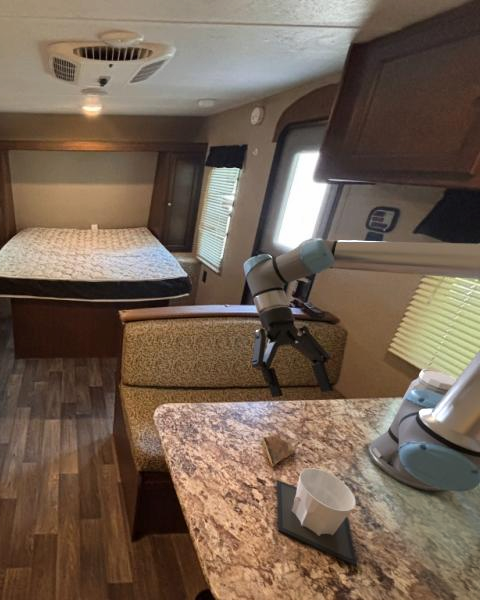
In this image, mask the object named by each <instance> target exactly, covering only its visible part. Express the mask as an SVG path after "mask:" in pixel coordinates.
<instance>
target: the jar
mask: <svg viewBox="0 0 480 600" xmlns="http://www.w3.org/2000/svg"><path fill="white" fill-rule="evenodd" d="M457 379H458V378H456V377H454V376H452V375H451V374H449V373H446V372H444V371H440V370H436V369H431V368H423V369H422V370H421V371H420V372H419V374H418V376H417V378H416V379H413V380H412V381H411V382H410V384H409V386H408V388H407V390H406V392H405V394H404V396H403V397H402V399H401V402H399V405H398V407H397V408H396V410H395V412H396V413H397V412H398V410H399V409H400V407H401V405H402V403H403V401H404V397H406V396H407V394H408V393H409V392H410V391H411V390H417V389H418V390H426V391H431V392H435V393H438V394H441V395H445V394H446V393H447V392H448V390H449V389H450V388H451V386H452V385H453V384H454V383H455V381H456V380H457Z"/></svg>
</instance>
